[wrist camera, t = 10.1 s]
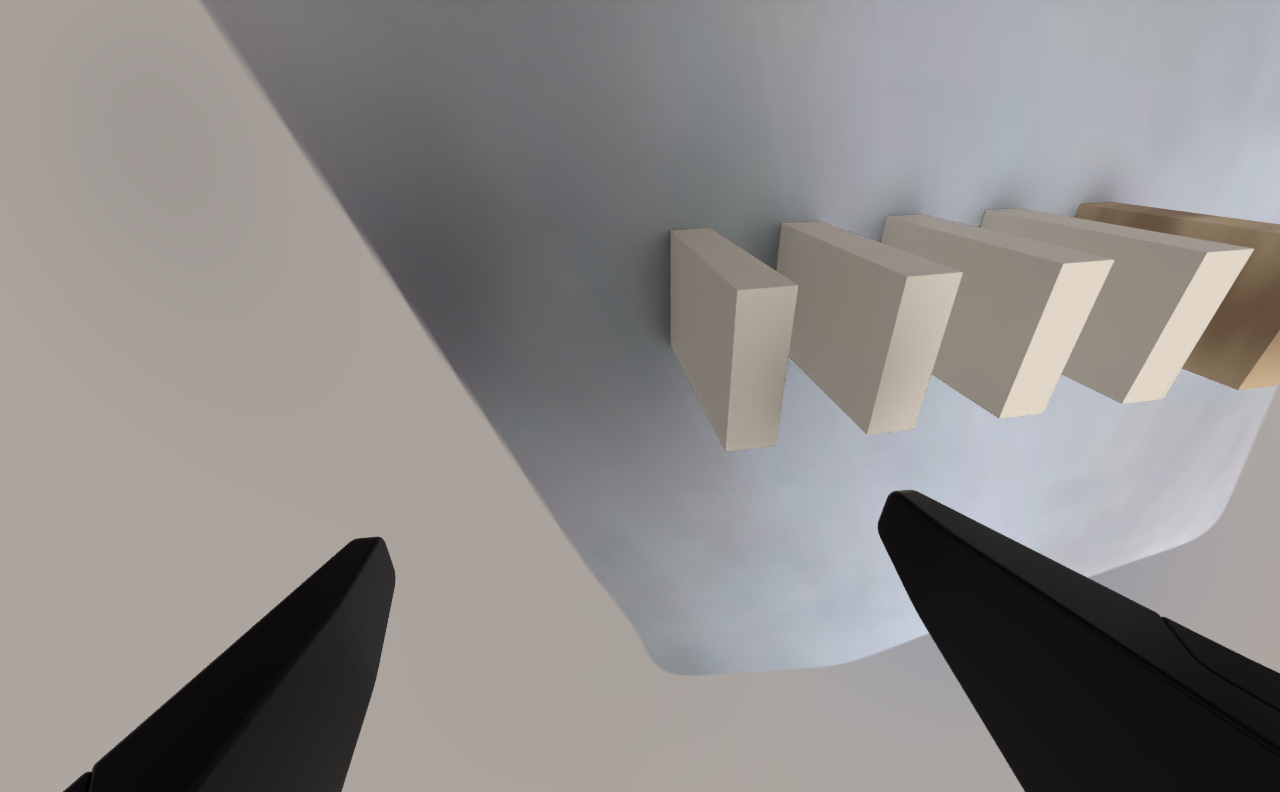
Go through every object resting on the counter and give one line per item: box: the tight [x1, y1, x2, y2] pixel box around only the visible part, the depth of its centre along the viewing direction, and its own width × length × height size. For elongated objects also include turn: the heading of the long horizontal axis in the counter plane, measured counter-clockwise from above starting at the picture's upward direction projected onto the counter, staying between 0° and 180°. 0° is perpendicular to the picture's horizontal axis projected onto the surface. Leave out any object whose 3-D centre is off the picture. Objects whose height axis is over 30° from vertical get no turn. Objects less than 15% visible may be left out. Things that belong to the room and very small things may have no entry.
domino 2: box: [776, 221, 963, 435], centre depth 17 cm, size 5×2×8 cm, turn 2°
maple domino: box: [1075, 202, 1280, 390], centre depth 19 cm, size 5×2×8 cm, turn 2°
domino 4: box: [980, 208, 1254, 404], centre depth 18 cm, size 5×2×8 cm, turn 2°
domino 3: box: [881, 214, 1114, 418], centre depth 18 cm, size 5×2×8 cm, turn 2°
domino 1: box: [671, 228, 798, 452], centre depth 16 cm, size 5×2×8 cm, turn 2°
